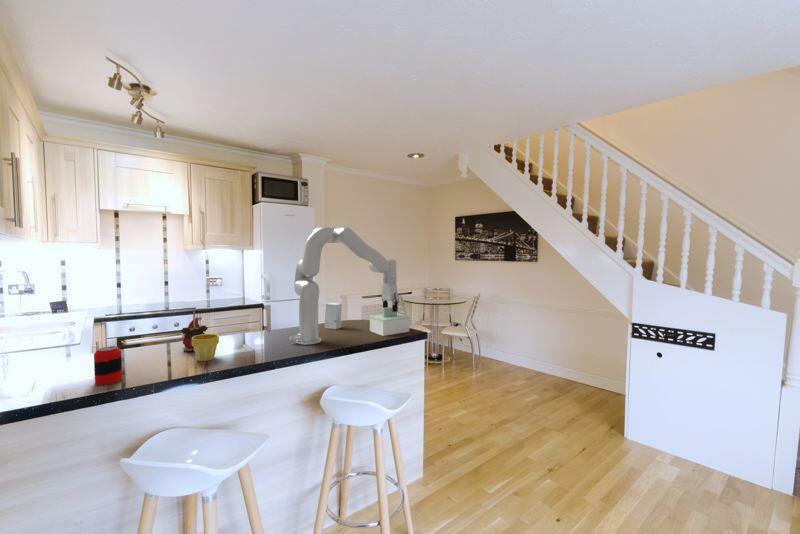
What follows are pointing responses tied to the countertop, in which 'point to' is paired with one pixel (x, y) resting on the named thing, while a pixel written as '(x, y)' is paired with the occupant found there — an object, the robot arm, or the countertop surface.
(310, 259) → the robot arm
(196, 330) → the dark red figurine
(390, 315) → the lid
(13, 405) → the countertop surface
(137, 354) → the countertop surface
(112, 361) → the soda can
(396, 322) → the tub
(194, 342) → the plant pot
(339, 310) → the skincare box
